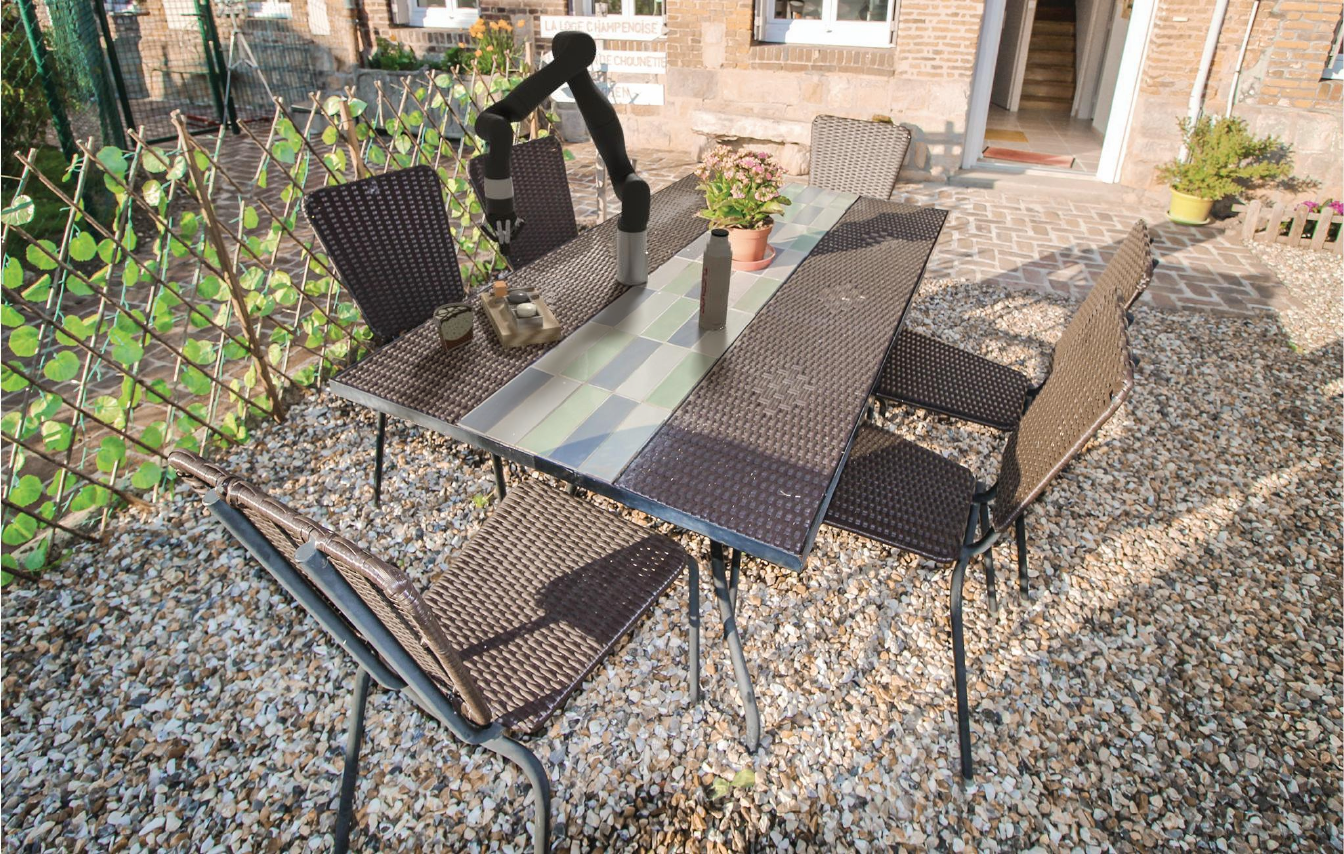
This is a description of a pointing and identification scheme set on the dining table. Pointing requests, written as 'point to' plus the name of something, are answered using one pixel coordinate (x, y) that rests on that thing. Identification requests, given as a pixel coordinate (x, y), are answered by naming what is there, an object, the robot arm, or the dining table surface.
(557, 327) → the board
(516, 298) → the charcoal button
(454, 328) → the food container
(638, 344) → the dining table surface
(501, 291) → the slider knob
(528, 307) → the cream button
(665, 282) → the dining table surface
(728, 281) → the thermos bottle
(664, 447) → the dining table surface
